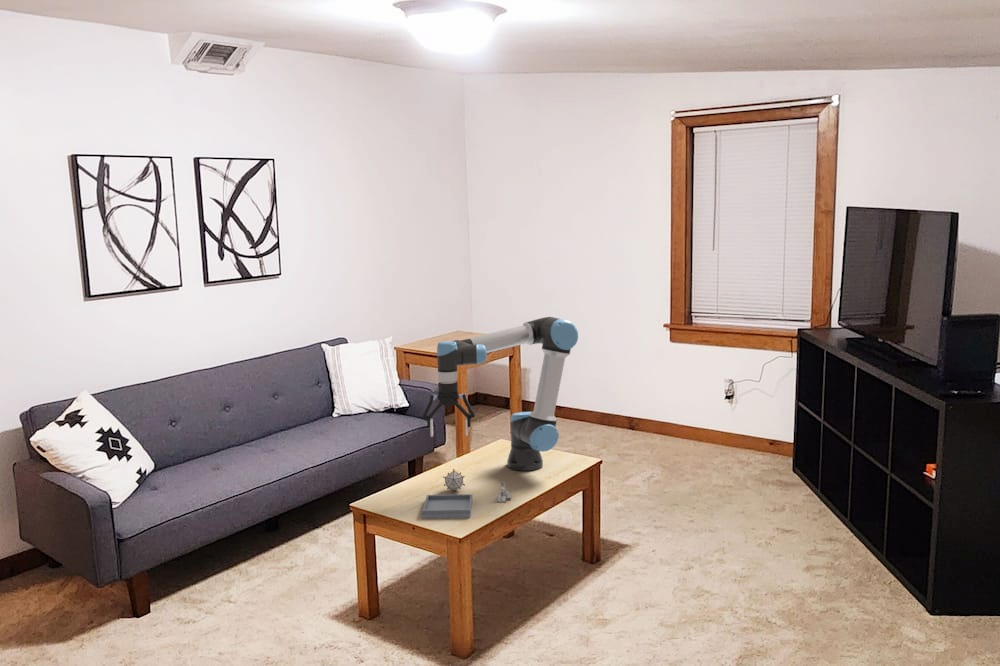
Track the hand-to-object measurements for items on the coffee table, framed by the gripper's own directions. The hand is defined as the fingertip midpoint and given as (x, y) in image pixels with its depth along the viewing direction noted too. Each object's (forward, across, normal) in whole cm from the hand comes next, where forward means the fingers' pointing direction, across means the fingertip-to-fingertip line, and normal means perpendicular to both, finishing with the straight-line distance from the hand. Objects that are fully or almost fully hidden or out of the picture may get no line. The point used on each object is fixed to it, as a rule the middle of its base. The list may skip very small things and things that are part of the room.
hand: (449, 435), depth 322 cm
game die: (+23, -1, +1) cm, 23 cm away
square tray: (+23, 0, +20) cm, 30 cm away
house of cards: (+24, -23, +11) cm, 35 cm away
